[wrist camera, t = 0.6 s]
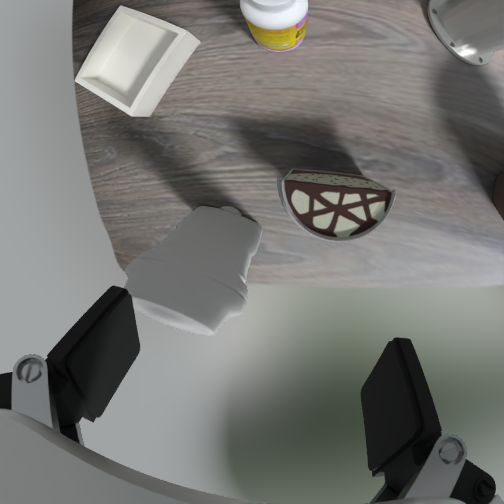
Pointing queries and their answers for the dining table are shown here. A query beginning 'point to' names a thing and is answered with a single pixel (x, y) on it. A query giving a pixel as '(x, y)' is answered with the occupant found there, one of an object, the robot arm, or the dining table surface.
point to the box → (136, 61)
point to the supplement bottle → (276, 22)
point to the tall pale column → (196, 271)
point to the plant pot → (499, 194)
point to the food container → (334, 203)
